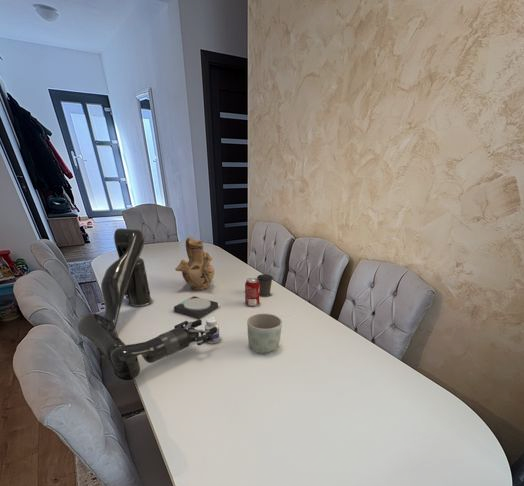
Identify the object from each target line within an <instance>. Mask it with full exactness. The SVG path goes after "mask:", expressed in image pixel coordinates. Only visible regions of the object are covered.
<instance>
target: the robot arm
mask: <svg viewBox="0 0 524 486" xmlns="http://www.w3.org/2000/svg"><path fill="white" fill-rule="evenodd" d="M145 240H146V239H145V235H144V233H143V232H142V230H139V229H136V228H123V227H121V228H120V227H119V228H117V229H116V230H114V234H113V241H114V245H115V249H116V252H117V256H118V259H117V260H115V261H114V262H113V263H112V264H110V265H109V267H107V269H106V270H105V272H104V275H103V278H102V280H101V283H100V289H101V293H102V297H103V301H104V306H105V312H104V316H102V315H100V314H99V313H96V312H93V311H91V312H86V313H85V314H84V315H83V316H82V317H81V318H80V320H79V321H78V325H77V330H78V332H79V334H81V335H82V336H84V337H85V338H87V339H88V340H90V342H92V343H93V344H94V346H96V347H97V348H98V349H99V350H100V352H101V353H102V355H103V356H104V357H105V358H106V359H107V360H108V362H109V364H110V367H111V368H112V371H113V372H114V374H115V376H116V377H117V378H119V379H120V380H124V381H131V380H134V379H136V378H137V377H138V376H139V375H140V372H141V365H140V361H139V358H138V356H142V358H143V360H144V361H145V362H146V363H148V364H153V363H156V362H158V361H159V360H162V359H165V358H166V357H169V356H172V355H174V354H177V353H178V352H180V351H182V350H185V349H187V348H189V346H190V344H191V343H195V342H196V343H197V346H201V345H204V344H206V343H208V341H210V340H212V335H213V334H215V333H217V327H213V328H211V329H209V330H205V329H204V330H203V329H198V327H200V326H202V325H203V321H202V319H201V318H200V319H196V320H194V321H188V320H184V321H182V322H180V323H178V324H176V325H174V328H173V329H170V330H168V331H165V332H162V333H161V334H159V335H157V336H156V337H154V338H153V337H152V338H151V339H148V340H146V341H143V342H137V343H131V344H126V343H125V342H124V341H123V340H122V339H121V338H120V337H119V336H118V335H116V334H115V331H116V328H117V324H118V320H119V316H120V313H121V312H120V311H121V307H122V304H123V301H124V299H127V302H128V304H129V305H131V306H133V307H145V306H148V305H150V304H151V303H152V297H151V290H150V287H149V280H148V276H147V270H146V265H145V261H144V259H143V258H141V257H140V256H141V254H142V252H143V250H144V247H145ZM196 328H197V329H196ZM205 333H206V334H205Z"/></svg>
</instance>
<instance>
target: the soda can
mask: <svg viewBox="0 0 524 486" xmlns="http://www.w3.org/2000/svg"><path fill="white" fill-rule="evenodd" d="M260 297H261V296H260V283H259V282H258V279H257V277H256V278H255V277H248V278H247V279H246V281H245V283H244V302H245V305H246V306H249V307H257V306H258V305H260Z"/></svg>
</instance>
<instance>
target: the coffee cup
mask: <svg viewBox="0 0 524 486" xmlns="http://www.w3.org/2000/svg"><path fill="white" fill-rule="evenodd" d="M256 279H258V282H259V283H260V297H269V296H270V295H271V288H272V282H273V280H274V277H273V276H272V275H270V274H265V273H264V274H258V275H257V277H256Z"/></svg>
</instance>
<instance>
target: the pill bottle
mask: <svg viewBox="0 0 524 486" xmlns="http://www.w3.org/2000/svg"><path fill="white" fill-rule="evenodd" d="M213 327H217V333H215V334H213V335H212V340H210V341H208V342H207V343H208V344H217V343H219V342H220V340H221V338H220V336H221V335H220V325H219V323H218V320H217V317H216V318H215V317H208V318H206V319H205V325H204V331H205V330H209V329H211V328H213ZM205 334H206V333H204V335H205Z"/></svg>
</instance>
